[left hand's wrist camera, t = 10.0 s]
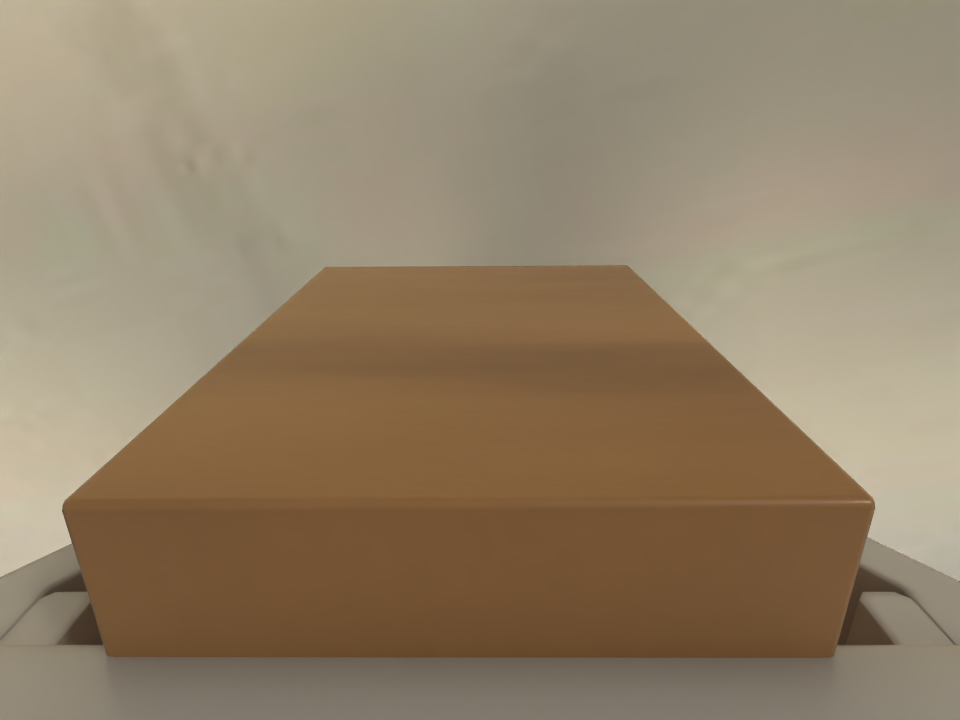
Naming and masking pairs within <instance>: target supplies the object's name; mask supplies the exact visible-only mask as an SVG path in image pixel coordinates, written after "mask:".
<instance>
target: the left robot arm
mask: <svg viewBox="0 0 960 720" xmlns="http://www.w3.org/2000/svg"><path fill="white" fill-rule="evenodd" d="M0 720H960V581H958V580H956V579H953V578H951V577H949V576H947V575H945V574H943V573H941V572H939V571H937V570H935V569H933V568H930V567H928V566H926V565H924V564H922V563H920V562H918V561H916V560H914V559H912V558H909V557H907V556H905V555H903V554H901V553H899V552H897V551H895V550H893V549H891V548H889V547H886V546H884V545H882V544H880V543H878V542H876V541H874V540H872V539H870V538H868V537H867V539H866V542H865V546H864V550H863V553H862V557H861V561H860V564H859V568H858V571H857V575H856V579H855V582H854V586H853V589H852V593H851V597H850V600H849V604H848V607H847V611H846V615H845V618H844V622H843V625H842V629H841V633H840V636H839V640H838V643H837V647H836V651H835V654H834V656H833V657H830V658H472V657H110V656H108V655H107V654H106V651H105V648H104V645H103V641H102V638H101V635H100V632H99V628H98V625H97V622H96V619H95V616H94V612H93V609H92V606H91V603H90V599H89V596H88V593H87V590H86V586H85V583H84V580H83V577H82V573H81V570H80V567H79V564H78V560H77V557H76V554H75V551H74V547H73V544H70V545H68V546H66V547H64V548H61V549H59V550H57V551H55V552H53V553H51V554H49V555H47V556H45V557H42V558H40V559H38V560H36V561H34V562H32V563H30V564H28V565H25V566H23V567H21V568H19V569H17V570H15V571H13V572H11V573H8V574H6V575H4V576H2V577H0Z"/></svg>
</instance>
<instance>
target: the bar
mask: <svg viewBox="0 0 960 720" xmlns="http://www.w3.org/2000/svg"><path fill="white" fill-rule="evenodd" d="M874 510H875V503H874V500H873V498H872V497H871V496H870V495H869V494H868V493H867V492H866V491H865V490H864V489H863V488H862V487H861V486H860V485H859V484H858V483H857V482H856V481H854V480H853V479H852V478H851V477H850V476H849V475H848V474H847V473H846V472H845V471H844V470H843V469H842V468H841V467H840V466H839V465H838V464H837V463H835V462H834V461H833V460H832V459H831V458H830V457H829V456H828V455H827V454H826V453H825V452H824V451H823V450H822V449H821V448H820V447H819V446H818V445H816V444H815V443H814V442H813V441H812V440H811V439H810V438H809V437H808V436H807V435H806V434H805V433H804V432H803V431H802V430H801V429H800V428H799V427H797V426H796V425H795V424H794V423H793V422H792V421H791V420H790V419H789V418H788V417H787V416H786V415H785V414H784V413H783V412H782V411H781V410H780V409H778V408H777V407H776V406H775V405H774V404H773V403H772V402H771V401H770V400H769V399H768V398H767V397H766V396H765V395H764V394H763V393H762V392H761V391H759V390H758V389H757V388H756V387H755V386H754V385H753V384H752V383H751V382H750V381H749V380H748V379H747V378H746V377H745V376H744V375H743V374H742V373H740V372H739V371H738V370H737V369H736V368H735V367H734V366H733V365H732V364H731V363H730V362H729V361H728V360H727V359H726V358H725V357H724V356H723V355H721V354H720V353H719V352H718V351H717V350H716V349H715V348H714V347H713V346H712V345H711V344H710V343H709V342H708V341H707V340H706V339H705V338H703V337H702V336H701V335H700V334H699V333H698V332H697V331H696V330H695V329H694V328H693V327H692V326H691V325H690V324H689V323H688V322H687V321H686V320H684V319H683V318H682V317H681V316H680V315H679V314H678V313H677V312H676V311H675V310H674V309H673V308H672V307H671V306H670V305H669V304H668V303H667V302H665V301H664V300H663V299H662V298H661V297H660V296H659V295H658V294H657V293H656V292H655V291H654V290H653V289H652V288H651V287H650V286H649V285H648V284H646V283H645V282H644V281H643V280H642V279H641V278H640V277H639V276H638V275H637V274H636V273H635V272H634V271H633V270H632V269H631V268H630V267H628V266H447V267H326V268H324V269H323V270H321V271H320V272H319V273H318V274H317V275H316V276H315V277H314V278H312V279H311V280H310V281H309V282H308V283H307V284H306V285H305V286H304V287H302V288H301V289H300V290H299V291H298V292H297V293H296V294H295V295H294V296H292V297H291V298H290V299H289V300H288V301H287V302H286V303H285V304H283V305H282V306H281V307H280V308H279V309H278V310H277V311H276V312H275V313H273V314H272V315H271V316H270V317H269V318H268V319H267V320H266V321H265V322H263V323H262V324H261V325H260V326H259V327H258V328H257V329H256V330H255V331H253V332H252V333H251V334H250V335H249V336H248V337H247V338H246V339H244V340H243V341H242V342H241V343H240V344H239V345H238V346H237V347H236V348H234V349H233V350H232V351H231V352H230V353H229V354H228V355H227V356H226V357H224V358H223V359H222V360H221V361H220V362H219V363H218V364H217V365H216V366H214V367H213V368H212V369H211V370H210V371H209V372H208V373H207V374H205V375H204V376H203V377H202V378H201V379H200V380H199V381H198V382H197V383H195V384H194V385H193V386H192V387H191V388H190V389H189V390H188V391H187V392H185V393H184V394H183V395H182V396H181V397H180V398H179V399H178V400H177V401H175V402H174V403H173V404H172V405H171V406H170V407H169V408H168V409H166V410H165V411H164V412H163V413H162V414H161V415H160V416H159V417H158V418H156V419H155V420H154V421H153V422H152V423H151V424H150V425H149V426H148V427H146V428H145V429H144V430H143V431H142V432H141V433H140V434H139V435H138V436H136V437H135V438H134V439H133V440H132V441H131V442H130V443H129V444H127V445H126V446H125V447H124V448H123V449H122V450H121V451H120V452H119V453H117V454H116V455H115V456H114V457H113V458H112V459H111V460H110V461H109V462H107V463H106V464H105V465H104V466H103V467H102V468H101V469H100V470H99V471H97V472H96V473H95V474H94V475H93V476H92V477H91V478H90V479H88V480H87V481H86V482H85V483H84V484H83V485H82V486H81V487H80V488H78V489H77V490H76V491H75V492H74V493H73V494H72V495H71V496H70V497H68V498H67V499H66V500H65V502H64V504H63V509H62V512H63V515H64V518H65V521H66V525H67V528H68V531H69V534H70V538H71V541H72V544H73V547H74V551H75V554H76V557H77V560H78V564H79V567H80V570H81V573H82V577H83V580H84V583H85V586H86V590H87V593H88V596H89V599H90V603H91V606H92V609H93V612H94V616H95V619H96V622H97V625H98V628H99V632H100V635H101V638H102V641H103V645H104V648H105V651H106V654H107V655H108V656H110V657H472V658H830V657H833V656H834V654H835V651H836V647H837V643H838V640H839V636H840V633H841V629H842V625H843V622H844V618H845V615H846V611H847V607H848V604H849V600H850V597H851V593H852V589H853V586H854V582H855V579H856V575H857V571H858V568H859V564H860V561H861V557H862V553H863V550H864V546H865V542H866V539H867V535H868V532H869V528H870V524H871V521H872V517H873V514H874Z"/></svg>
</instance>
